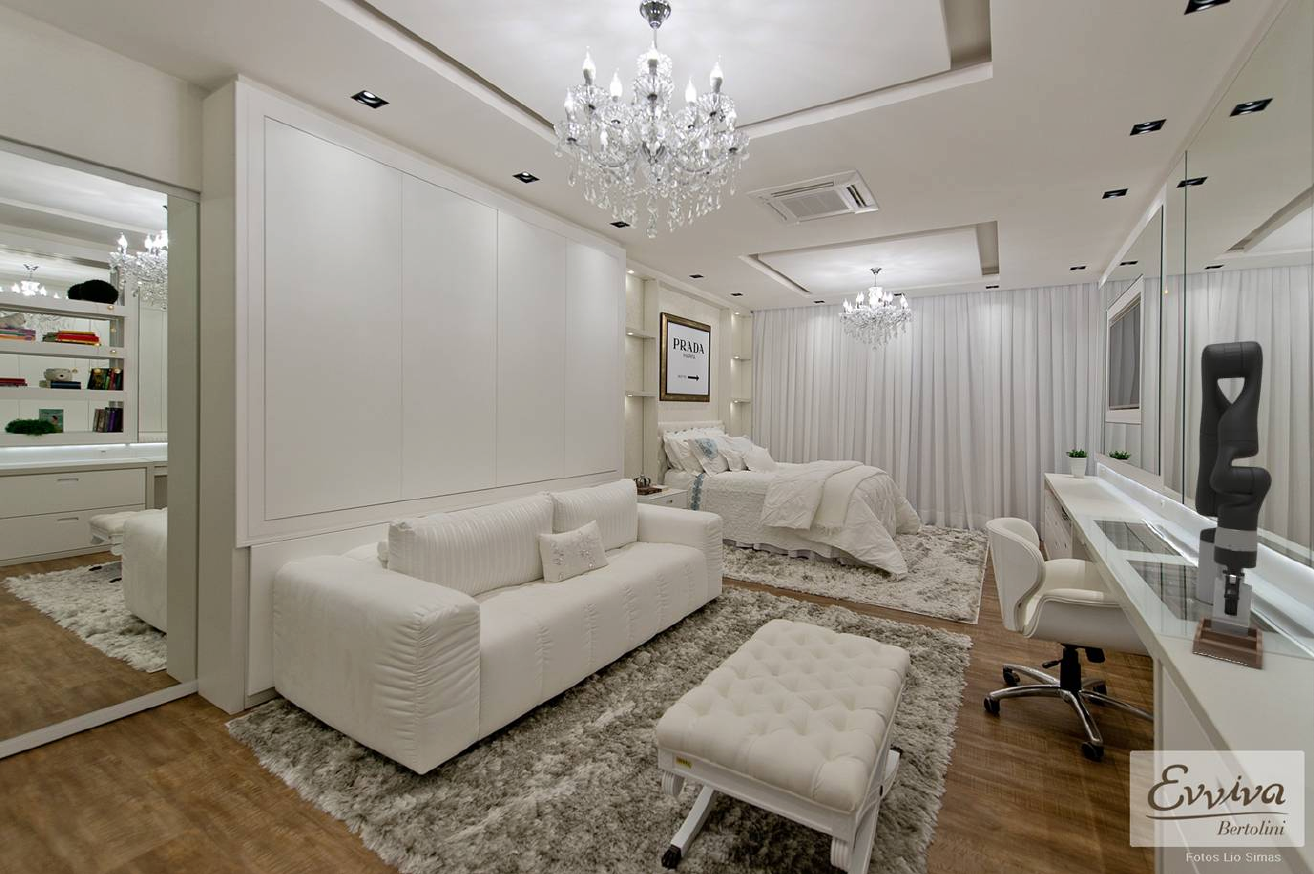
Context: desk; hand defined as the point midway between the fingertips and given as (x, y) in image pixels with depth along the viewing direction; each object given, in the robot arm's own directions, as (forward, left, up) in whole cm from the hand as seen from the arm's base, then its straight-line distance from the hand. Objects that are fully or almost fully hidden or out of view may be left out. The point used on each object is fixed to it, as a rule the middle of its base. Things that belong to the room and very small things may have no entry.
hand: (1231, 610), depth 143 cm
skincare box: (0, 0, -5) cm, 5 cm away
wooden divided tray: (+16, 0, -4) cm, 17 cm away
